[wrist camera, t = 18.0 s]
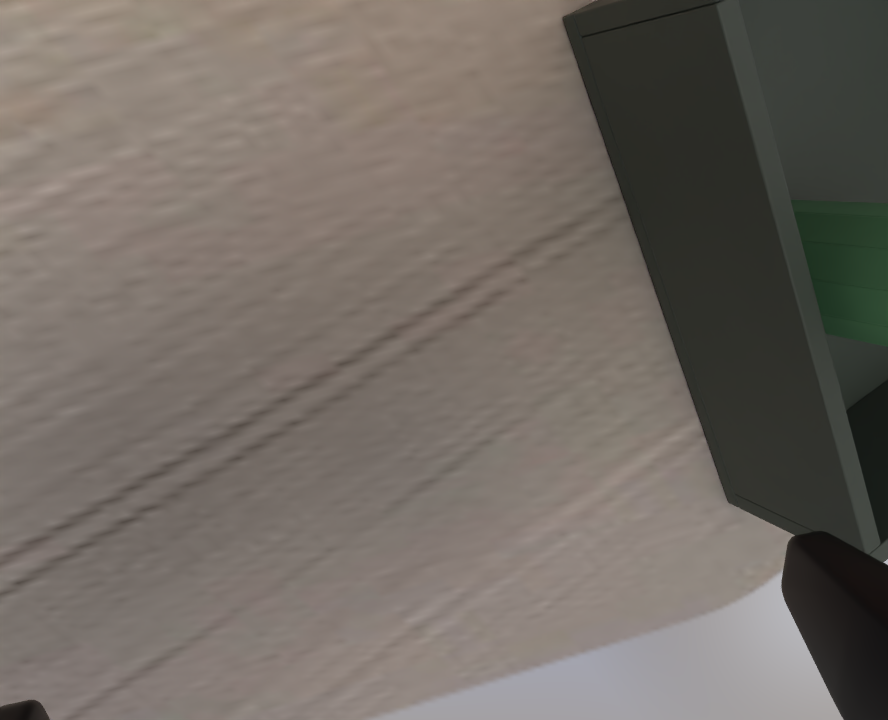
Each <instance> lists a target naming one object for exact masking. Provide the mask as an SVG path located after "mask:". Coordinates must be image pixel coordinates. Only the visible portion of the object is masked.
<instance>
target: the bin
mask: <svg viewBox="0 0 888 720" xmlns="http://www.w3.org/2000/svg"><path fill="white" fill-rule="evenodd" d="M563 20H564V23H565V26H566V29H567V32H568V35H569V38H570V41H571V44H572V47H573V50H574V53H575V55H576V58H577V61H578V64H579V67H580V70H581V73H582V76H583V79H584V82H585V85H586V88H587V90H588V93H589V96H590V99H591V102H592V105H593V108H594V111H595V114H596V117H597V120H598V123H599V126H600V128H601V131H602V134H603V137H604V140H605V143H606V146H607V149H608V152H609V155H610V158H611V161H612V163H613V166H614V169H615V172H616V175H617V178H618V181H619V184H620V187H621V190H622V193H623V196H624V199H625V201H626V204H627V207H628V210H629V213H630V216H631V219H632V222H633V225H634V228H635V231H636V234H637V236H638V239H639V242H640V245H641V248H642V251H643V254H644V257H645V260H646V263H647V266H648V269H649V272H650V274H651V277H652V280H653V283H654V286H655V289H656V292H657V295H658V298H659V301H660V304H661V307H662V309H663V312H664V315H665V318H666V321H667V324H668V327H669V330H670V333H671V336H672V339H673V342H674V345H675V347H676V350H677V353H678V356H679V359H680V362H681V365H682V368H683V371H684V374H685V377H686V380H687V382H688V385H689V388H690V391H691V394H692V397H693V400H694V403H695V406H696V409H697V412H698V415H699V418H700V420H701V423H702V426H703V429H704V432H705V435H706V438H707V441H708V444H709V447H710V450H711V453H712V455H713V458H714V461H715V464H716V467H717V470H718V473H719V476H720V479H721V482H722V485H723V488H724V491H725V493H726V496H727V499H728V502H729V503H731V504H733V505H735V506H737V507H740V508H741V509H743V510H745V511H747V512H749V513H751V514H753V515H755V516H757V517H759V518H761V519H763V520H765V521H767V522H769V523H771V524H773V525H775V526H777V527H779V528H781V529H783V530H786V531H788V532H790V533H792V534H794V535H800V534H805V533H809V532H814V531H824V532H828V533H830V534H832V535H834V536H835V537H837V538H839V539H841V540H843V541H845V542H846V543H848V544H850V545H852V546H854V547H856V548H857V549H859V550H861V551H863V552H865V553H866V554H868V555H870V556H872V557H874V558H876V559H877V560H879V561H881V562H884V561H886V560H887V559H888V347H886V346H881V345H877V344H872V343H867V342H862V341H857V340H853V339H848V338H843V337H838V336H834V335H829V334H826V333H825V329H824V325H823V322H822V318H821V314H820V310H819V306H818V302H817V299H816V295H815V291H814V287H813V283H812V280H811V276H810V272H809V268H808V264H807V261H806V257H805V253H804V249H803V245H802V242H801V238H800V234H799V230H798V226H797V222H796V219H795V215H794V211H793V207H792V203H791V200H814V201H841V202H867V203H888V0H597V1H595V2H593V3H591V4H589V5H587V6H585V7H583V8H581V9H579V10H577V11H575V12H573V13H571V14H569V15H567V16H565V17H564V18H563Z"/></svg>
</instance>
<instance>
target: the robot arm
mask: <svg viewBox="0 0 888 720" xmlns="http://www.w3.org/2000/svg"><path fill="white" fill-rule="evenodd" d="M782 593H783V596H784V600H785V602H786V604H787V606H788V608H789V610H790V612H791V615H792V617H793V619H794V621H795V623H796V625H797V627H798V629H799V631H800V633H801V635H802V637H803V639H804V641H805V643H806V645H807V647H808V649H809V651H810V654H811V655H812V658H813V660H814V662H815V664H816V666H817V668H818V670H819V672H820V674H821V676H822V678H823V680H824V682H825V684H826V686H827V688H828V690H829V693H830V695H831V697H832V698H833V700H834V702H835V704H836V706H837V708H838V710H839V712H840V714H841V716H842V717H843V719H844V720H888V565H887V564H885V563H883V562H881V561H879V560H877V559H876V558H874V557H872V556H870V555H868V554H866V553H865V552H863V551H861V550H859V549H857V548H856V547H854V546H852V545H850V544H848V543H846V542H845V541H843V540H841V539H839V538H837V537H835V536H834V535H832V534H830V533H828V532H824V531H814V532H809V533H805V534H800V535H795V536H793V537H792V538H791V539H790V540H789V542H788V545H787V551H786V557H785V563H784V569H783V575H782ZM0 720H50V719H49V717H48V715H47V713H46V711H45V709H44V708H43V706H42V705H41V703H40V702H38V701H36V700H27V701H22V702H18V703H13V704H8V705H4V706H1V707H0Z"/></svg>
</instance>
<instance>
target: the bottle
mask: <svg viewBox="0 0 888 720" xmlns="http://www.w3.org/2000/svg"><path fill="white" fill-rule="evenodd" d="M791 203H792V207H793V211H794V215H795V219H796V222H797V226H798V230H799V234H800V238H801V242H802V245H803V249H804V253H805V257H806V261H807V264H808V268H809V272H810V276H811V280H812V283H813V287H814V291H815V295H816V299H817V302H818V306H819V310H820V314H821V318H822V322H823V325H824V329H825V333H826V334H829V335H834V336H838V337H843V338H848V339H853V340H857V341H862V342H867V343H872V344H877V345H881V346H886V347H888V203H867V202H841V201H814V200H791Z"/></svg>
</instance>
